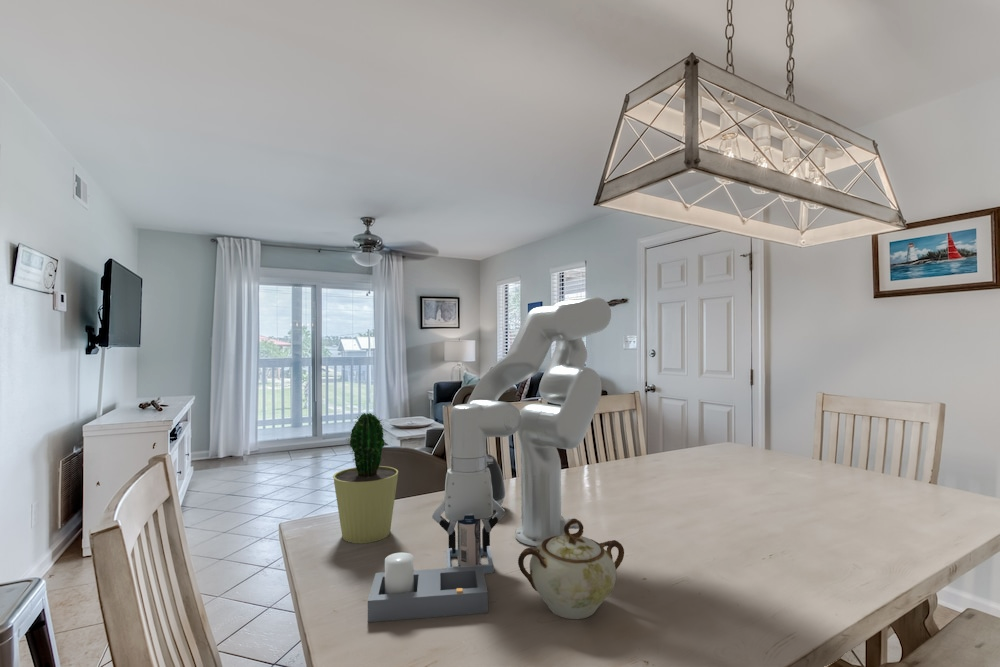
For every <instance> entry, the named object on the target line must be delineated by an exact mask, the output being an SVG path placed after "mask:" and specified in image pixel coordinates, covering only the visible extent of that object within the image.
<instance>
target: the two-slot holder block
mask: <svg viewBox="0 0 1000 667" xmlns="http://www.w3.org/2000/svg"><path fill="white" fill-rule="evenodd" d="M414 566H415V565H414V555H413V554H412V553H410V552H395V553H391V554H389V555H387V556H386V557H385V558H384V572H383V571H382V572H375V574H374V578H373V580H372V584H371V588H370V591H369V595H368V598H367V623H374V622H375V623H376V622H387V621H400V620H402V621H403V620H413V619H424V618H426V619H427V618H438V617H450V616H452V617H453V616H464V615H466V616H467V615H475V614H476V615H477V614H488V613H489V611H488V610H489V608H488V607H489V606H488V603H489V602H488V601H489V600H488V599H489V598H488V592H489V591H488V588H487V583H486V578H485V577H486V576H485V573H484V571H483V566H473V567H457V568H447V567H446V568H443V567H442V568H431V569H430V568H429V569H416V570H415V569H414Z"/></svg>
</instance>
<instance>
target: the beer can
mask: <svg viewBox="0 0 1000 667" xmlns="http://www.w3.org/2000/svg"><path fill="white" fill-rule="evenodd" d="M481 535H482V531H481V519H475V518H474V514H472V513H471V514H465V516H464V520H460V521H457V548H458V557H457V564H458V566H469V565H481V562H482V559H481V558H482V555H481V547H482V542H481V541H482V540H481V539H482V536H481Z"/></svg>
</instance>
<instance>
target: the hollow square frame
mask: <svg viewBox="0 0 1000 667" xmlns="http://www.w3.org/2000/svg"><path fill="white" fill-rule="evenodd" d="M481 556H486V558H487V559H486V560H487V563H488V564H479V565H469V566H460V565H457V566H451V558H454V557H455V558H456V557H457V558H458V547H457V548H456V553H455V554H452V548H447V549H446V565H447V566H446V568H457V567H473V566H483V571H484V574H493V573H494V562H493V557H492V554H491V550H490V547H489V546H487V552H484V551H483V547H482V546H481Z"/></svg>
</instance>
